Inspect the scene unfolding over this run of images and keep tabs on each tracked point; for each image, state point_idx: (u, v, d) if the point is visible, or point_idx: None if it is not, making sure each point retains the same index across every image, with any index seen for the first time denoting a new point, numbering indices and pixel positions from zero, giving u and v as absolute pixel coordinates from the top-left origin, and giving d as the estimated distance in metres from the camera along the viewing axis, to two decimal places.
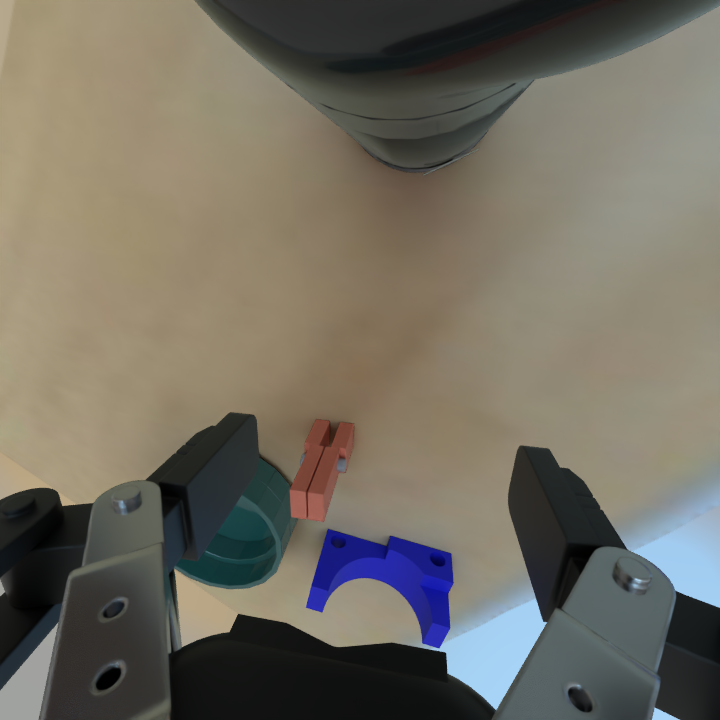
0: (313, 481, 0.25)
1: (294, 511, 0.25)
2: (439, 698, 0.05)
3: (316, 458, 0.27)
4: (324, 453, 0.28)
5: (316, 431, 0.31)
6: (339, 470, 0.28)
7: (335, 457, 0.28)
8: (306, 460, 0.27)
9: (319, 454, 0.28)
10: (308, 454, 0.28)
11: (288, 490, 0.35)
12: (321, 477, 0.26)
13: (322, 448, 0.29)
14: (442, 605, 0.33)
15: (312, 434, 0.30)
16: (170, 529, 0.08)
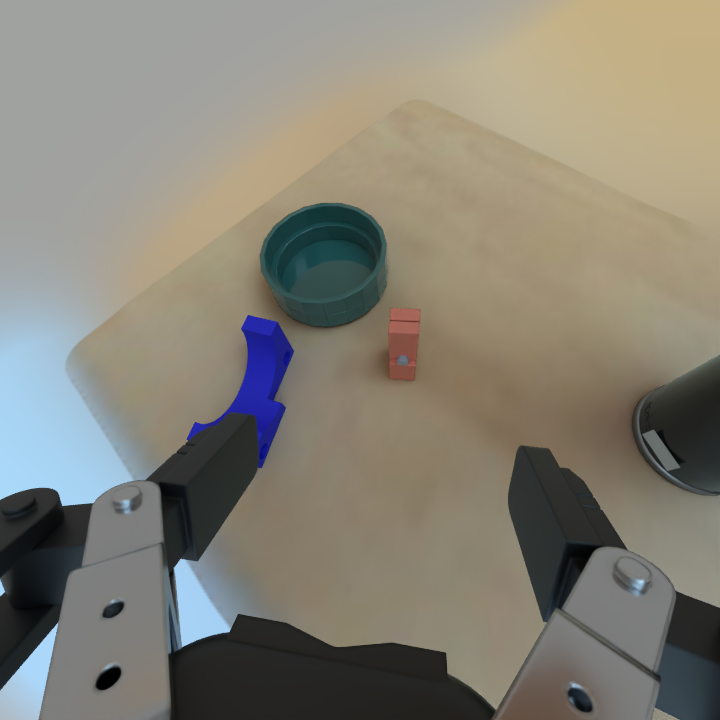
0: None
1: (397, 311, 0.30)
2: (439, 698, 0.05)
3: None
4: None
5: None
6: (401, 357, 0.33)
7: (416, 354, 0.33)
8: None
9: None
10: None
11: (346, 320, 0.39)
12: None
13: None
14: None
15: None
16: (170, 529, 0.08)
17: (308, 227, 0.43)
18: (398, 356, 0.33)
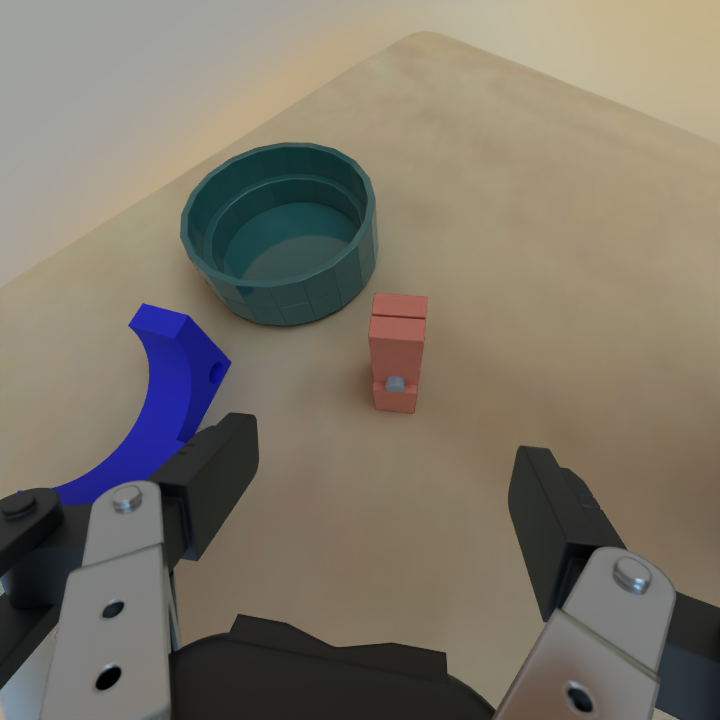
0: None
1: (386, 298, 0.17)
2: (439, 698, 0.05)
3: None
4: None
5: None
6: (392, 379, 0.20)
7: (418, 375, 0.19)
8: None
9: None
10: None
11: (312, 316, 0.26)
12: None
13: None
14: None
15: None
16: (170, 529, 0.08)
17: (264, 181, 0.29)
18: (388, 377, 0.20)
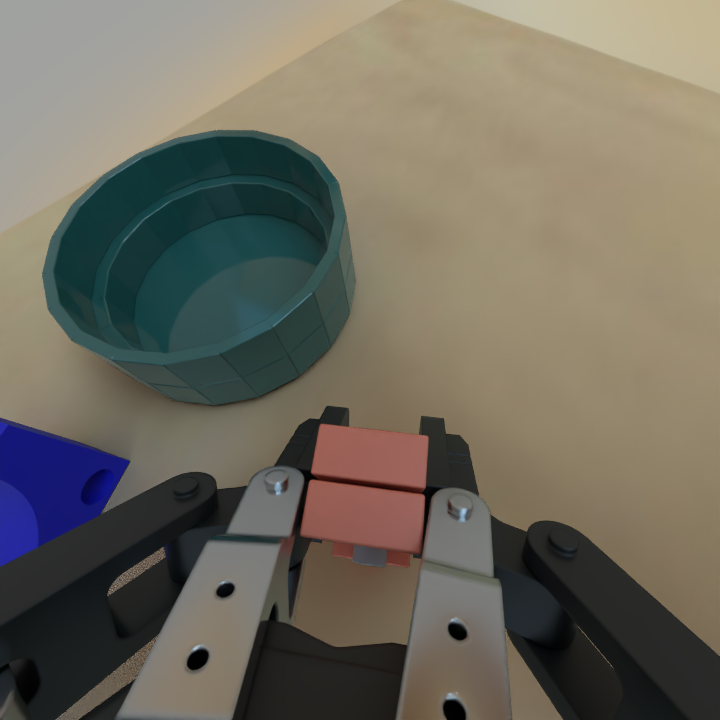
0: None
1: (343, 437, 0.08)
2: None
3: None
4: None
5: None
6: (364, 550, 0.11)
7: None
8: None
9: None
10: None
11: (252, 393, 0.17)
12: None
13: None
14: None
15: None
16: None
17: (195, 186, 0.21)
18: None
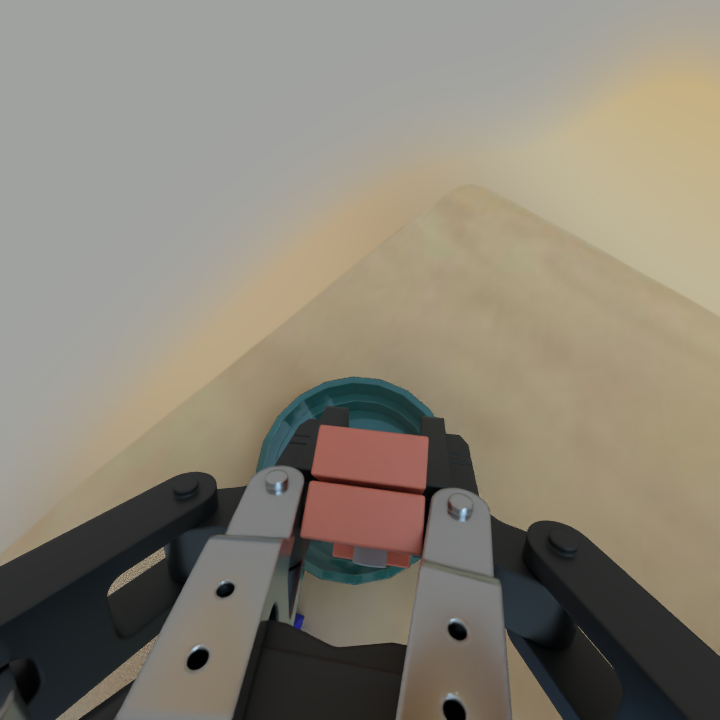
0: None
1: (343, 439, 0.08)
2: None
3: None
4: None
5: None
6: (364, 551, 0.11)
7: None
8: None
9: None
10: None
11: None
12: None
13: None
14: None
15: None
16: None
17: (329, 403, 0.29)
18: None
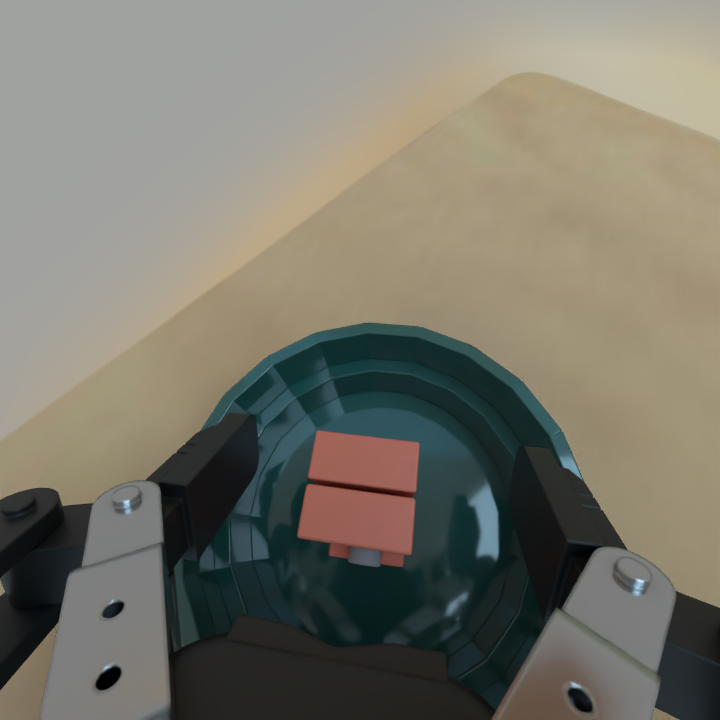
0: None
1: (338, 444, 0.09)
2: (439, 698, 0.05)
3: None
4: None
5: None
6: (359, 551, 0.11)
7: None
8: None
9: None
10: None
11: None
12: None
13: None
14: None
15: None
16: (170, 529, 0.08)
17: (324, 375, 0.16)
18: None
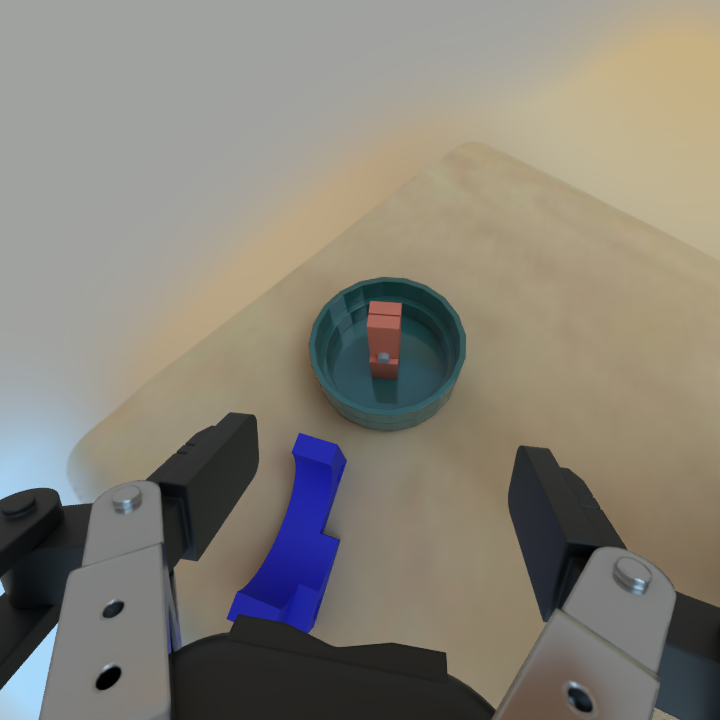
0: None
1: (377, 304, 0.28)
2: (439, 698, 0.05)
3: None
4: (399, 343, 0.31)
5: None
6: (381, 354, 0.31)
7: (398, 351, 0.31)
8: None
9: None
10: (400, 330, 0.31)
11: (413, 425, 0.32)
12: (399, 333, 0.29)
13: (399, 343, 0.32)
14: (282, 621, 0.24)
15: (400, 340, 0.34)
16: (170, 529, 0.08)
17: (362, 303, 0.36)
18: (379, 353, 0.31)
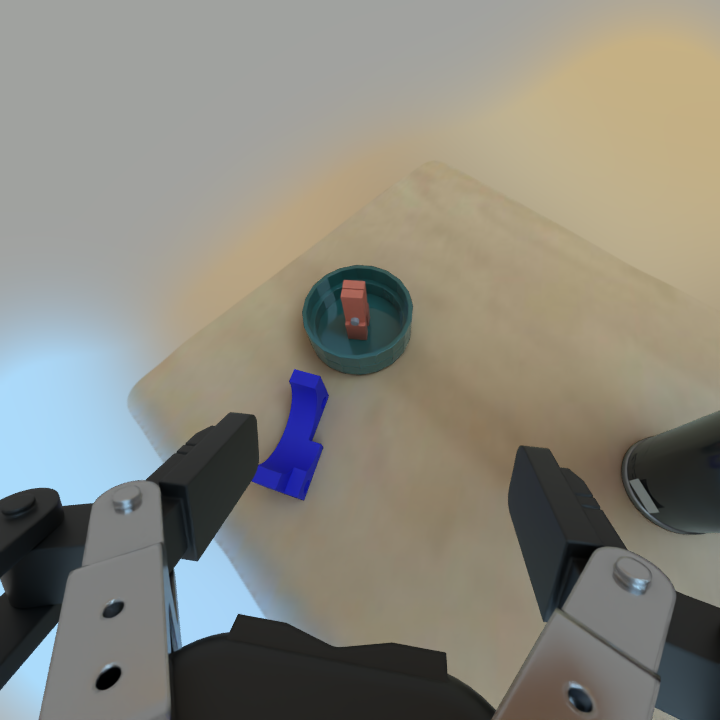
0: (364, 296, 0.42)
1: (348, 281, 0.41)
2: (439, 698, 0.05)
3: (366, 305, 0.44)
4: (366, 311, 0.44)
5: (368, 314, 0.47)
6: (353, 318, 0.44)
7: (364, 316, 0.44)
8: (366, 299, 0.44)
9: (366, 308, 0.44)
10: None
11: (376, 370, 0.45)
12: (364, 302, 0.42)
13: (366, 312, 0.45)
14: (282, 485, 0.37)
15: (368, 310, 0.47)
16: (170, 529, 0.08)
17: (342, 284, 0.49)
18: (351, 318, 0.44)
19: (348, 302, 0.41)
